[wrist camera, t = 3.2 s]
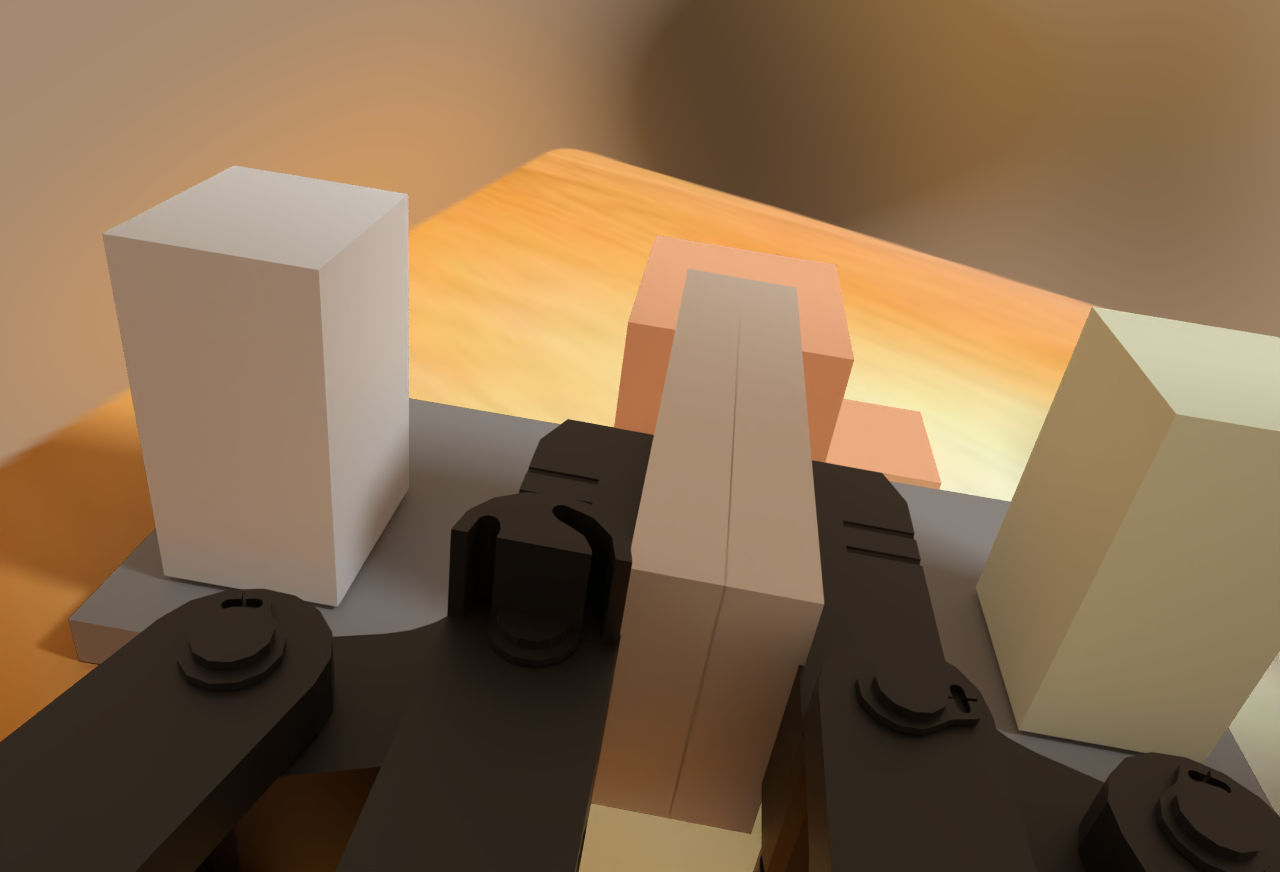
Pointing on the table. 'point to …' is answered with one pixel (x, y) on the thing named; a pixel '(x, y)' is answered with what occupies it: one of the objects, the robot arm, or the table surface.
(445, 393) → the table surface
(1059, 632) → the sage green block
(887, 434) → the terracotta tile
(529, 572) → the robot arm
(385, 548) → the charcoal key base
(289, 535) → the light grey block
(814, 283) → the terracotta key
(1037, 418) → the table surface
